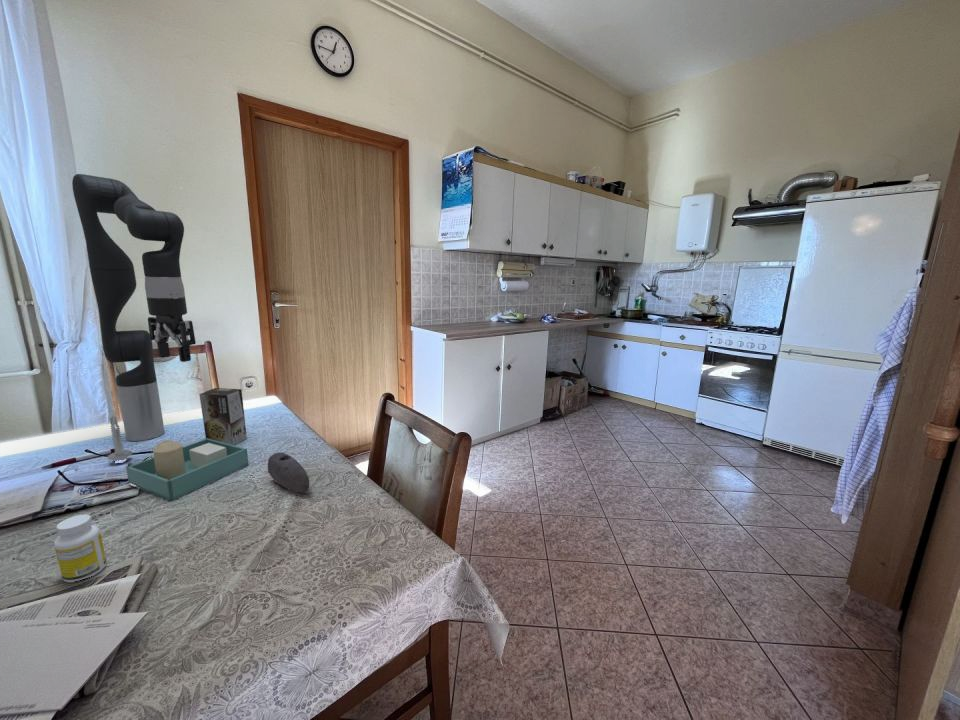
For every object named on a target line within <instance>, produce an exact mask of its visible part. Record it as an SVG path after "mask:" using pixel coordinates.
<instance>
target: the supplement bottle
mask: <svg viewBox="0 0 960 720" xmlns="http://www.w3.org/2000/svg"><path fill="white" fill-rule="evenodd" d="M56 531H57V535H58V537H56V539H55V540H54V542H53V545H54V550H55V551H54V552H55V554H56V558H57V563H58V567H59V571H60V574H61V577H62V580H63V581H64V582H66V583H75V582H74V581H78V580H82V579H85V578H88V577H90V578H92V577H95V576H96V575H97V574H99V573H100V572H101V571H103V569H105V568H106V565H107V557H106V552H105V551H106V550H105V548H104V542H103V539H102V534H101V531H100V528H99V526H97V525H94V524H93V520H92V516H91V515H89V514H77V515H75V516H71V517H69V518H66V519H64V520H62V521H61V522H59V523H58V524H57V525H56ZM91 576H92V577H91ZM88 579H89V578H88ZM85 580H86V579H85ZM82 581H83V580H82ZM78 582H79V581H78Z"/></svg>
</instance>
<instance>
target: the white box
mask: <svg viewBox="0 0 960 720" xmlns="http://www.w3.org/2000/svg"><path fill="white" fill-rule="evenodd" d="M189 452H190V459H191V466H194V467H197V468H199V467H202V466H204V465H207V464H209V463H211V462H214V461H216V460H219V459H221V458H223V457H226V456H227V451H226V447H222V446H219V445H215V444H211V443H207V444H204V445H201V446H199V447H196V448H193V449H190V450H189Z"/></svg>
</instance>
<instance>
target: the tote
mask: <svg viewBox="0 0 960 720" xmlns="http://www.w3.org/2000/svg"><path fill="white" fill-rule="evenodd" d="M207 443H211V444H215V445H219V446H222V447H226V451H227V456H226V457H223V458H221V459H219V460H216V461H214V462H211V463H209V464H207V465H204V466H202V467H199V468H197V467H194V466H191V459H190V452H189V450H190V449H193V448H196V447H199V446H201V445H204V444H207ZM182 448H183V455H184V462H185V469H186V473H185V474H183V475H180V476H178V477H175V478H173V479H171V480H168V479H165V478H162V477H159V476H157V474H156V468H155V462H154V456H153V457H151V458H148V459H146V460H143V461H142V460H141V461H139V462H137V463H134V464H131V465H129V466H126V468H125V469H126V475H127V481H128V484H129V483H132V484H134V485H136V486H137V487H139V489H138V490H139V491H142V492H145V493H148V494H151V495H154V496H156V497H159V498H161V499H164V500H167V501H168V502H173V501H175V500H176V499H179V498H181V497H183V496H185V495H187V494H189V493H191V492H193V491H196V490H199V489H201V488H203V487H205V486H206V485H209V484H211V483H213V482H216V481H218V480H220V479H222V478H224V477H226V476H228V475H231V474H233V473H236V472H237V471H239V470H242V469H244V468H246V467H248V466H249V457H248V448H245V447H242V446H241V447H240V446H238V445H231V444H227V443H223V442H220V441H216V440H212V439H208V438H207V439H206V438H204V439H201V440H199V441H195V442H193V443H190V444H187V445H184V446H182Z"/></svg>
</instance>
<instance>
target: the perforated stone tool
mask: <svg viewBox="0 0 960 720" xmlns="http://www.w3.org/2000/svg"><path fill="white" fill-rule="evenodd" d="M267 471H268V474H269V476H270V477H271V478H272V479H273V480H274V481H275V482H276V483H277V484H279V485H281V486H283V487H284V488H286V489H288V490H290V491H292V492H296V493H300V494H302V493H306V492H307V491H309V488H310V478H309V476H308V475H309V474H308V473H307V471H306V469H305V468H304V466H302V464H301V463H300V462H298V461H297V459H295V457H293V456H291V455H289V454H287V453H286V452H285V453H284V452H276V453H273V454H272V455H270V457H268V460H267Z"/></svg>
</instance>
